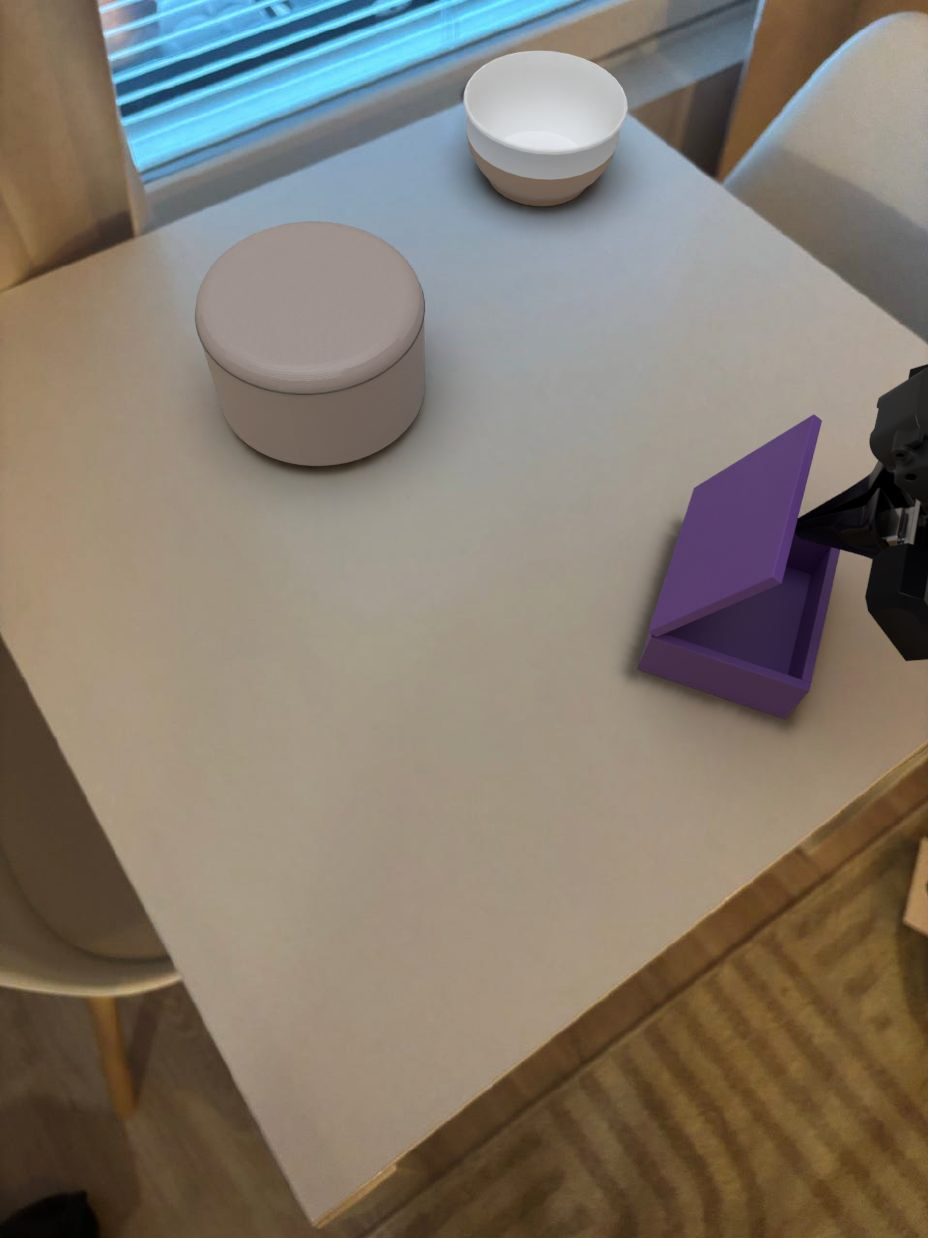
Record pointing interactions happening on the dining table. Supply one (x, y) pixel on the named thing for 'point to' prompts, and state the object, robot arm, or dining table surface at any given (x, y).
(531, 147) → the bowl
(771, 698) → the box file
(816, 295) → the dining table surface
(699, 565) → the lid
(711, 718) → the dining table surface
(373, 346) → the container
